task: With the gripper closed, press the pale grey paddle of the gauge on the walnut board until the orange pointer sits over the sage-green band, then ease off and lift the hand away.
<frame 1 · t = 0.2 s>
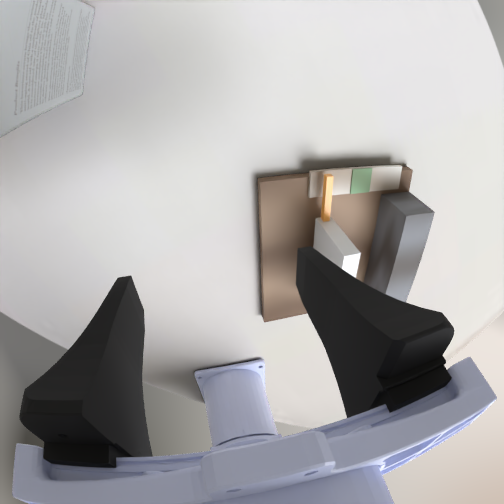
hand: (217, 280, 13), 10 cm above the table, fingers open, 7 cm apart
gauge frame: (328, 246, 26), on the table
skincare box: (59, 54, 13), on the table
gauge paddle: (333, 260, 22), point 4 cm above the table, slide at 0.0 cm
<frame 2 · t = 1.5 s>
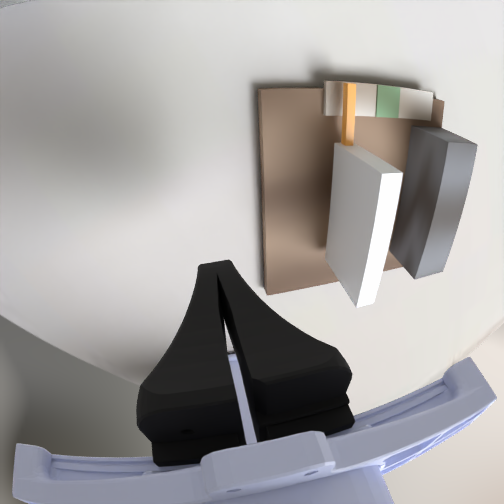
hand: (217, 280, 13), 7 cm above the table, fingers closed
gauge frame: (348, 192, 20), on the table
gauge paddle: (361, 195, 16), point 4 cm above the table, slide at 0.0 cm
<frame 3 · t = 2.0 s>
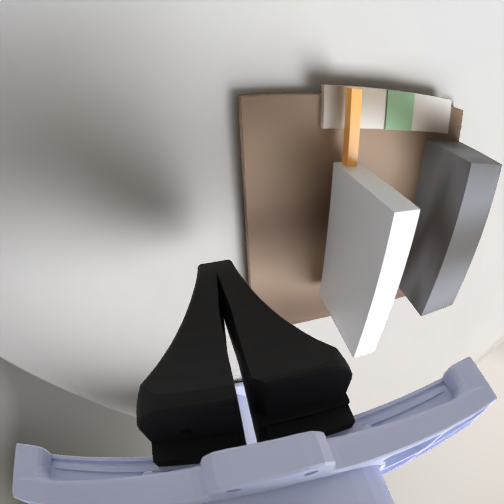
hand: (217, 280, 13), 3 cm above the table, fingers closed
gauge frame: (349, 218, 17), on the table
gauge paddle: (364, 230, 13), point 4 cm above the table, slide at 0.0 cm
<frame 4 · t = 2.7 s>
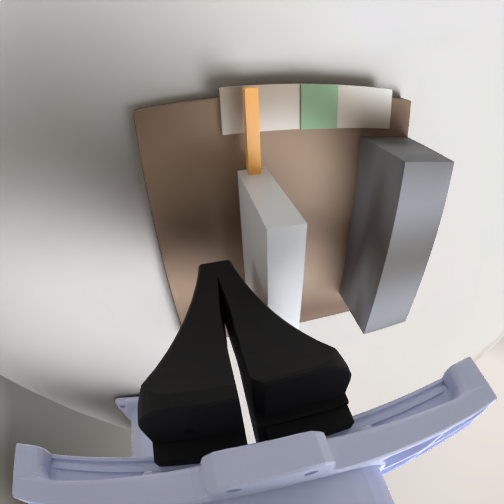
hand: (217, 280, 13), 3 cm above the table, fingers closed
gauge frame: (276, 228, 16), on the table
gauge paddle: (267, 245, 12), point 4 cm above the table, slide at 0.0 cm, touching gripper
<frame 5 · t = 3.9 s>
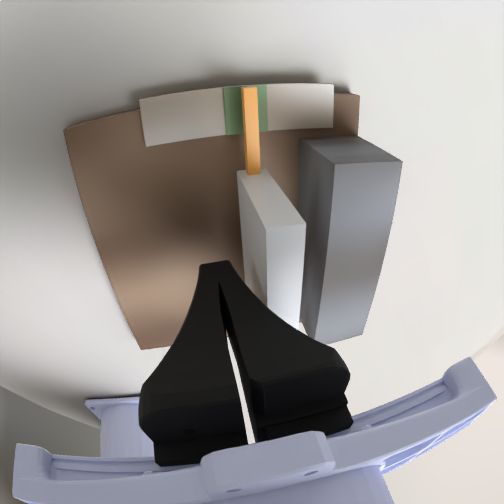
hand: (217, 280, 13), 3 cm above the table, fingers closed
gauge frame: (216, 236, 16), on the table
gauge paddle: (266, 245, 12), point 4 cm above the table, slide at 3.1 cm, touching gripper
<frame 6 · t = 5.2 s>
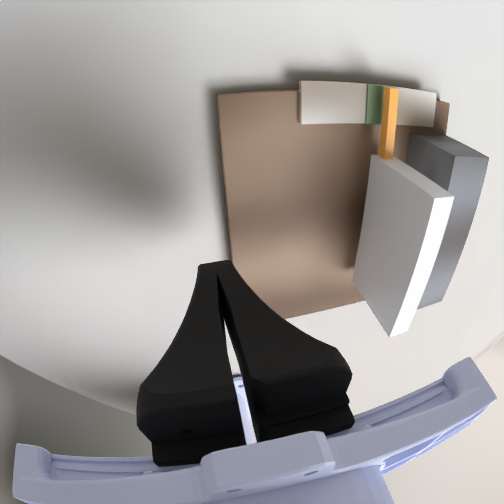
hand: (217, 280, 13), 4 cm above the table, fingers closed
gauge frame: (333, 213, 17), on the table
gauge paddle: (401, 216, 13), point 4 cm above the table, slide at 3.1 cm
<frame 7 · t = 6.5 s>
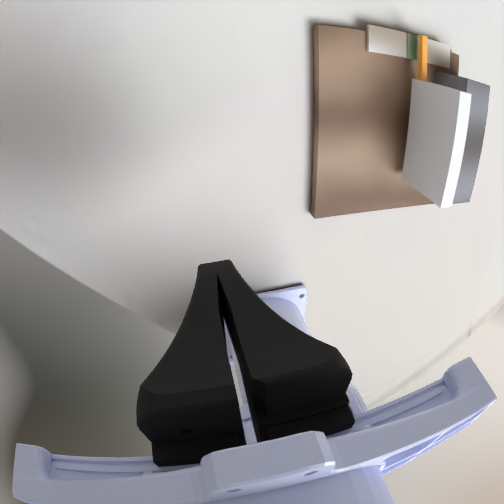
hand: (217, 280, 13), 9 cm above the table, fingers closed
gauge frame: (385, 124, 20), on the table
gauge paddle: (437, 116, 16), point 4 cm above the table, slide at 3.1 cm
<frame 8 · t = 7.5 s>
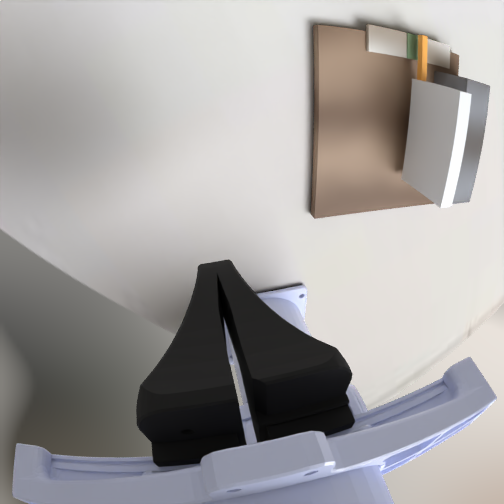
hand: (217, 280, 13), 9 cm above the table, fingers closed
gauge frame: (385, 124, 20), on the table
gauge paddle: (437, 116, 16), point 4 cm above the table, slide at 3.1 cm
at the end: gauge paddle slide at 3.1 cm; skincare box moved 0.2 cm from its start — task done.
